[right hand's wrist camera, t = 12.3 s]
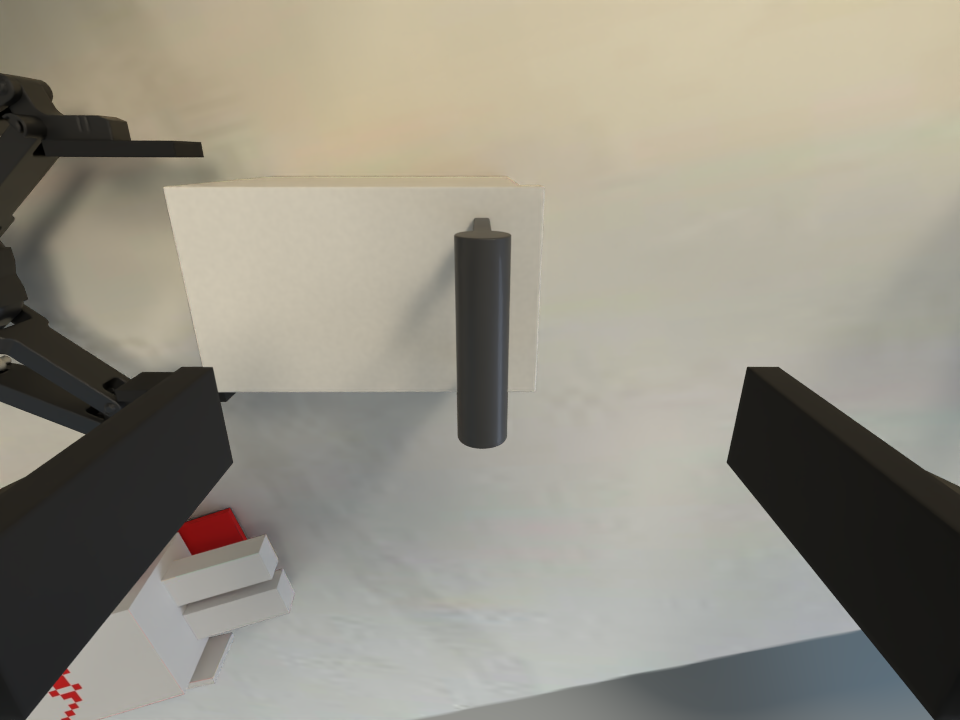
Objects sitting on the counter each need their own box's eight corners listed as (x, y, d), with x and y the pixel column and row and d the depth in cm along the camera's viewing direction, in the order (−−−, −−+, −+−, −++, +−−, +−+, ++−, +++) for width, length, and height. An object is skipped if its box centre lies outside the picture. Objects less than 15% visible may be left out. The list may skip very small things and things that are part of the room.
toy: (289, 689, 38) (-121, 812, 36) (319, 561, 50) (15, 650, 49) (221, 564, 33) (-248, 700, 32) (272, 459, 46) (-63, 553, 44)
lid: (541, 185, 23) (574, 199, 15) (533, 381, 27) (555, 475, 19) (178, 185, 23) (22, 199, 15) (219, 382, 27) (111, 476, 19)
